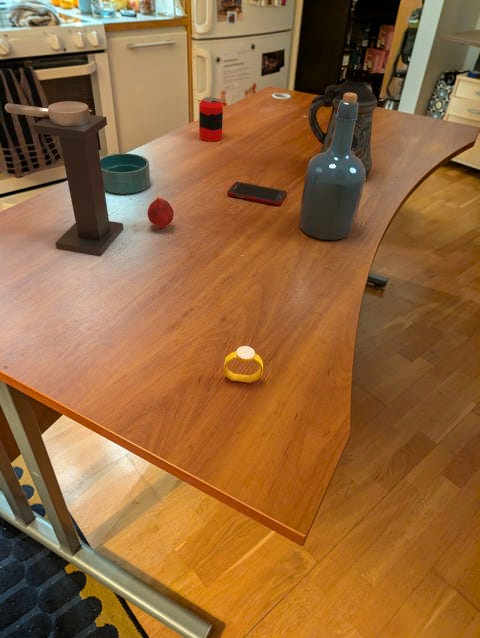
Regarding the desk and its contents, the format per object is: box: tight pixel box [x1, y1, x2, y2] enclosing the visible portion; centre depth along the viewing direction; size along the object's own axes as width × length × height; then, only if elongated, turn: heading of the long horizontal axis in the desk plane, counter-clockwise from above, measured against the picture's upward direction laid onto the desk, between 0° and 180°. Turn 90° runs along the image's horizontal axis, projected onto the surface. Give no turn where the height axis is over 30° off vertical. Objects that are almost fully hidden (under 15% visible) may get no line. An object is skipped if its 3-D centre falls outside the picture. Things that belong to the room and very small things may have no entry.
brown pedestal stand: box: [32, 114, 124, 257], centre depth 93 cm, size 10×12×25 cm
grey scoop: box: [4, 100, 91, 127], centre depth 85 cm, size 16×7×2 cm, turn 78°
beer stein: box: [307, 77, 378, 178], centre depth 129 cm, size 16×19×25 cm
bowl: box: [100, 152, 151, 195], centre depth 121 cm, size 13×13×6 cm
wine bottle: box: [298, 93, 367, 241], centre depth 101 cm, size 14×13×30 cm
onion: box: [146, 194, 175, 229], centre depth 104 cm, size 6×6×8 cm
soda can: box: [198, 96, 224, 143], centre depth 150 cm, size 8×8×12 cm
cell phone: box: [226, 181, 288, 206], centre depth 122 cm, size 8×15×1 cm, turn 71°
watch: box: [223, 345, 264, 384], centre depth 70 cm, size 6×3×6 cm, turn 87°
